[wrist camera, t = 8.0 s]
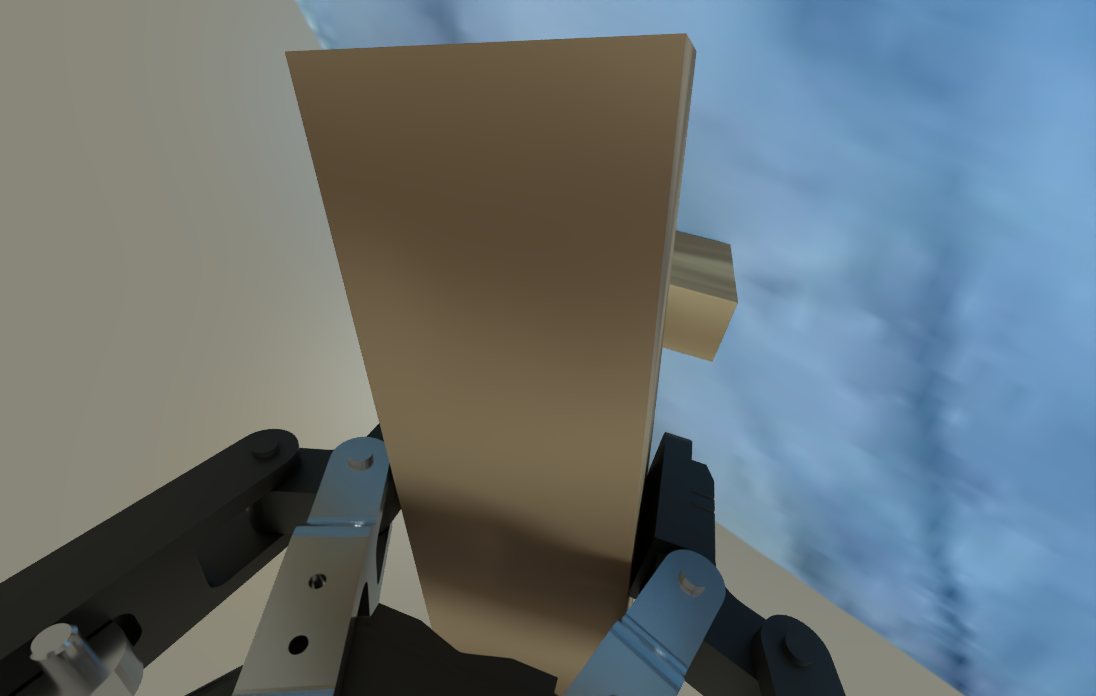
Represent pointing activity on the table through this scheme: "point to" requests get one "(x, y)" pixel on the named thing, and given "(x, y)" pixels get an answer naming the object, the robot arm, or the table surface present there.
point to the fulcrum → (699, 296)
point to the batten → (509, 310)
